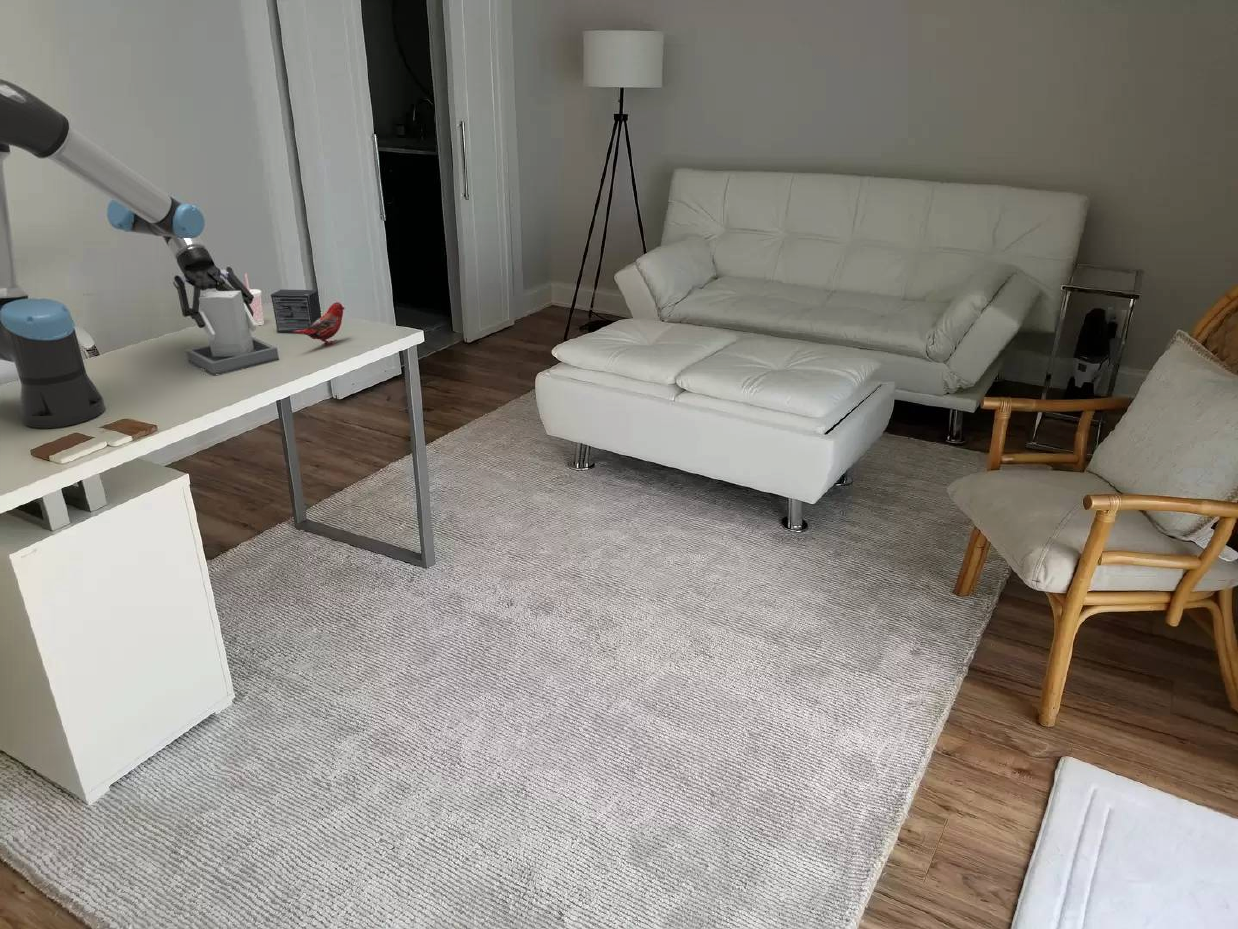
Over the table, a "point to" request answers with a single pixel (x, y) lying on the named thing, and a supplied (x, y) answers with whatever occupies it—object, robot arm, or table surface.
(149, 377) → the table surface
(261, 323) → the beverage cup
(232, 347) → the skincare box
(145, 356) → the table surface
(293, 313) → the small box
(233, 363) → the tray
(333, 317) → the decorative bird figurine
